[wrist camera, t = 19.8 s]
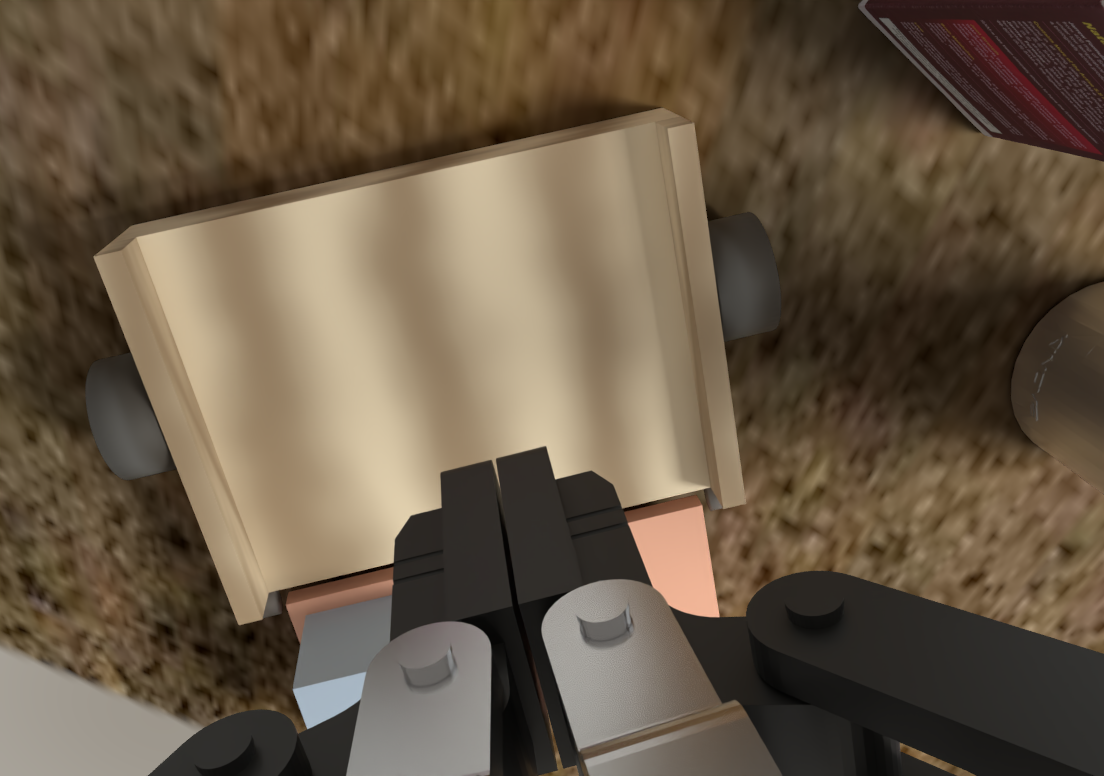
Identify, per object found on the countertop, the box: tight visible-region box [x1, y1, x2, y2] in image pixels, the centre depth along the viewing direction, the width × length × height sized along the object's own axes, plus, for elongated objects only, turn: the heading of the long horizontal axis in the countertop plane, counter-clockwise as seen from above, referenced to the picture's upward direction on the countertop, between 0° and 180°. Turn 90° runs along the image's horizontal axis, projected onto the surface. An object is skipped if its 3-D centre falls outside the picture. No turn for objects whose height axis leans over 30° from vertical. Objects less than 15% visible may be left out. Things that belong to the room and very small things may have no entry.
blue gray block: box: [293, 595, 392, 729], centre depth 43 cm, size 6×7×5 cm
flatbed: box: [86, 108, 781, 625], centre depth 41 cm, size 27×18×5 cm, turn 101°
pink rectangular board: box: [286, 495, 719, 712], centre depth 46 cm, size 19×1×9 cm
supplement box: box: [858, 0, 1104, 161], centre depth 33 cm, size 9×5×16 cm, turn 51°
